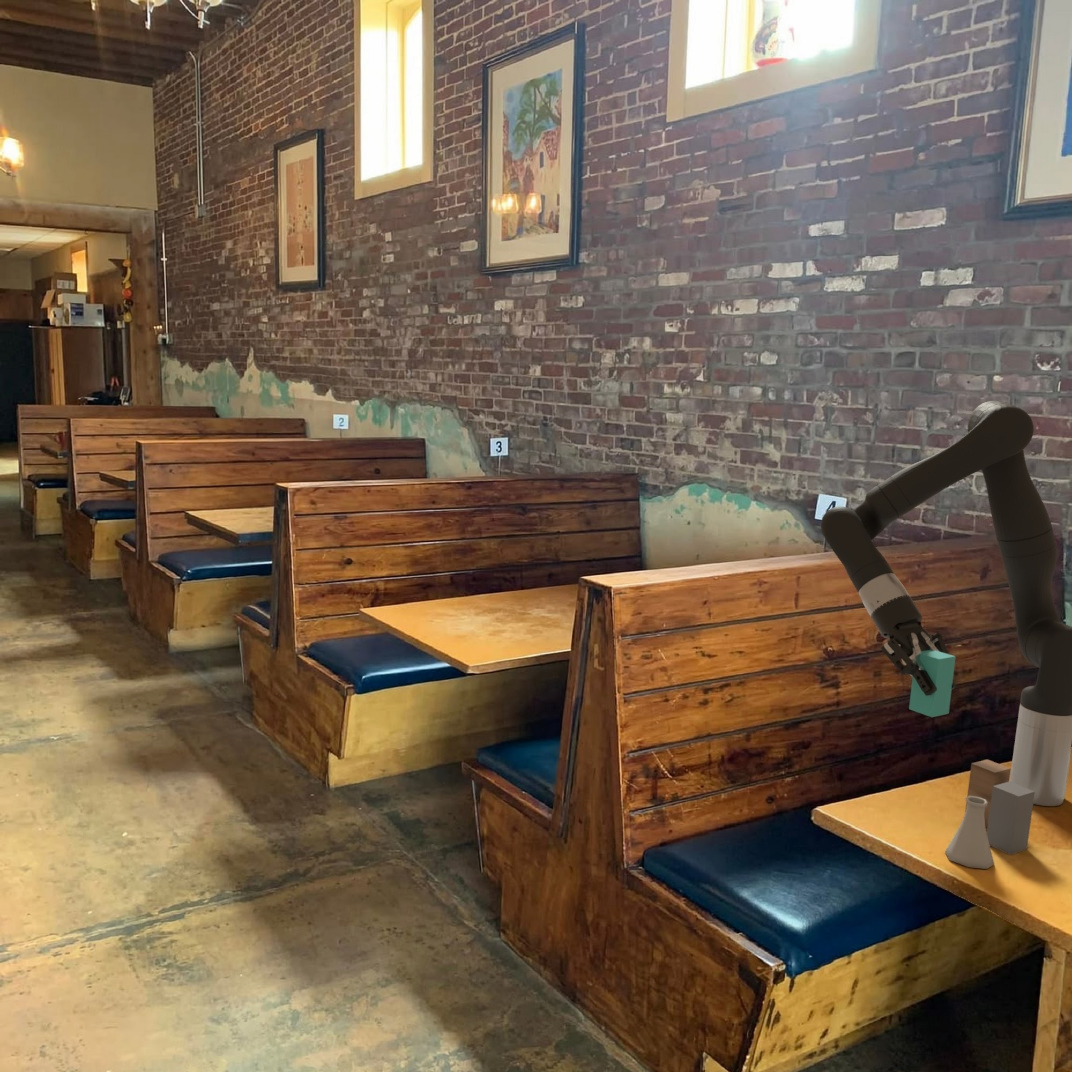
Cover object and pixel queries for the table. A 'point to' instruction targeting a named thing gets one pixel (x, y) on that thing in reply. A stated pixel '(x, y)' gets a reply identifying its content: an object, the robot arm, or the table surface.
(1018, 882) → the table surface
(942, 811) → the table surface
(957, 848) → the flask
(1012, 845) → the charcoal post
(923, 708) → the teal post
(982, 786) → the walnut post
